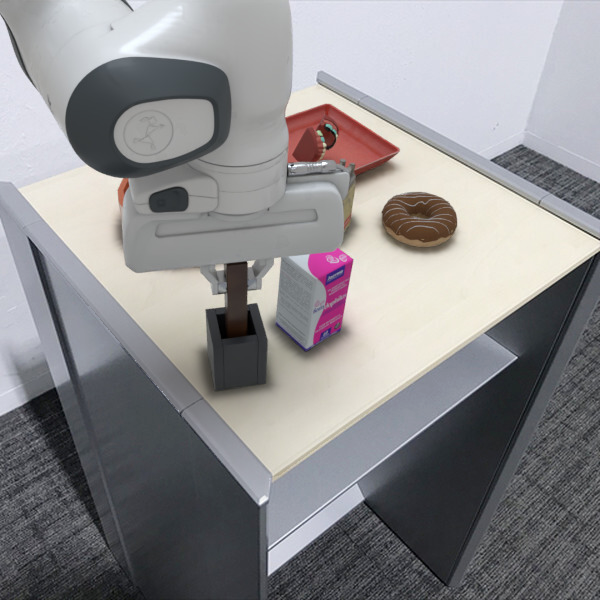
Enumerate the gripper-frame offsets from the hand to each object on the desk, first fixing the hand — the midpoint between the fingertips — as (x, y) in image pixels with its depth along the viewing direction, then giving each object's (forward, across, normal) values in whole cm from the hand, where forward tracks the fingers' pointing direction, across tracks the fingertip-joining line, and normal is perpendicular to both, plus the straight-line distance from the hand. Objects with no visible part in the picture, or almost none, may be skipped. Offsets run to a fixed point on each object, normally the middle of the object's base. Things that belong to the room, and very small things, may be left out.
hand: (235, 288), depth 66 cm
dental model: (+6, -22, -39) cm, 45 cm away
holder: (+12, 0, 0) cm, 12 cm away
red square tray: (+12, -20, -40) cm, 47 cm away
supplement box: (+12, -10, -4) cm, 16 cm away
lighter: (+12, -18, -22) cm, 31 cm away
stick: (+12, 0, 0) cm, 12 cm away
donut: (+12, -30, -20) cm, 38 cm away
